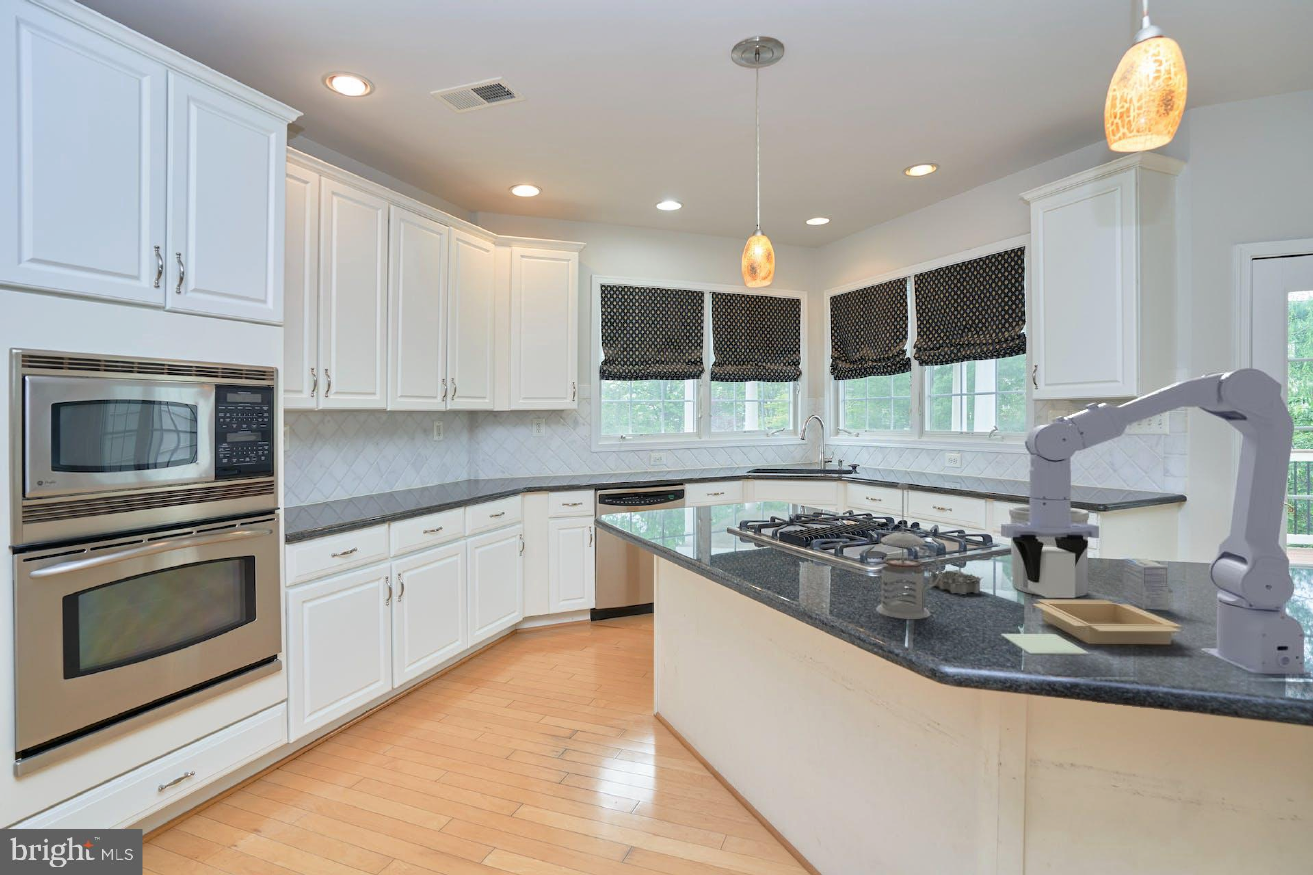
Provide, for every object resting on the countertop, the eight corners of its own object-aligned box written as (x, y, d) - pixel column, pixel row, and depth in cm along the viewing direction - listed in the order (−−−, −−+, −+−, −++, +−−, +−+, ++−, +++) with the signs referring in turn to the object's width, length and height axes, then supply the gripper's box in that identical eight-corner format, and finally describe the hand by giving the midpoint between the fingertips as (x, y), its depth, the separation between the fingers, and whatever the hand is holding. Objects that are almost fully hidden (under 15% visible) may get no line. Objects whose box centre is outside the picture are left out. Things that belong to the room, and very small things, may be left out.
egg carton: (924, 584, 145) (924, 566, 145) (953, 582, 146) (953, 564, 146) (955, 596, 134) (955, 577, 134) (986, 594, 136) (986, 575, 136)
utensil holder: (993, 584, 143) (993, 507, 142) (1041, 578, 148) (1041, 503, 148) (1054, 601, 129) (1055, 515, 129) (1105, 594, 134) (1106, 511, 134)
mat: (1089, 656, 99) (1089, 653, 99) (1030, 656, 99) (1030, 652, 99) (1055, 637, 108) (1055, 633, 108) (1000, 637, 108) (1000, 633, 108)
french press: (881, 601, 130) (881, 479, 129) (943, 609, 124) (944, 481, 124) (870, 614, 122) (870, 483, 121) (936, 623, 116) (937, 486, 115)
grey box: (1074, 597, 100) (1075, 553, 100) (1046, 597, 101) (1046, 553, 100) (1050, 586, 107) (1050, 545, 107) (1023, 586, 108) (1023, 545, 107)
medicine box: (1169, 612, 122) (1169, 567, 121) (1142, 610, 123) (1143, 566, 122) (1146, 600, 129) (1146, 558, 129) (1121, 599, 130) (1121, 557, 130)
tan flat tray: (1196, 651, 100) (1196, 630, 100) (1085, 651, 101) (1085, 629, 101) (1117, 617, 118) (1117, 599, 118) (1024, 616, 119) (1024, 598, 119)
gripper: (1080, 495, 107) (1079, 575, 107) (992, 495, 108) (991, 575, 108) (1108, 500, 100) (1107, 586, 100) (1013, 500, 101) (1013, 585, 101)
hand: (1049, 581), depth 104 cm, fingers closed on grey box, 4 cm apart
